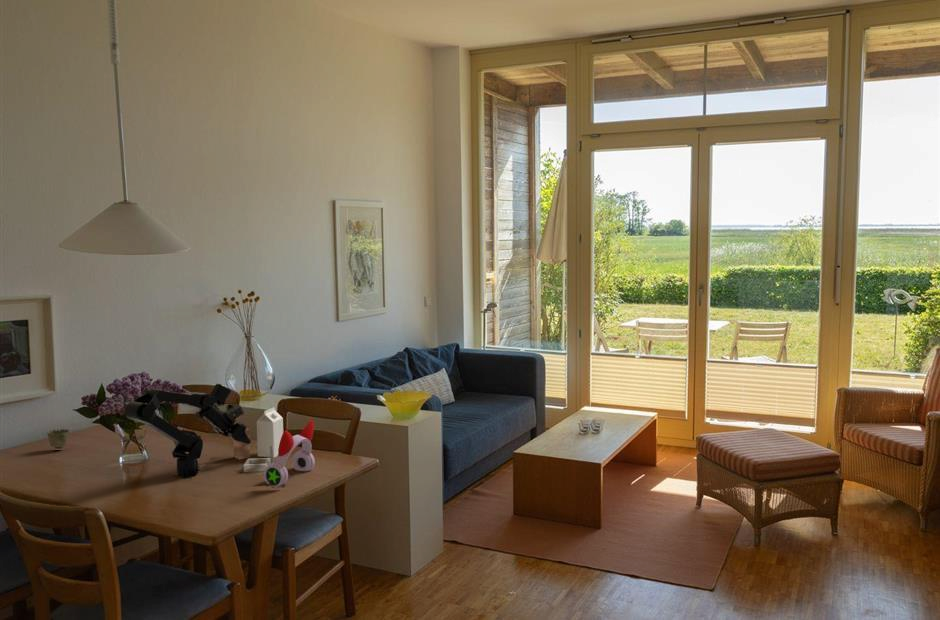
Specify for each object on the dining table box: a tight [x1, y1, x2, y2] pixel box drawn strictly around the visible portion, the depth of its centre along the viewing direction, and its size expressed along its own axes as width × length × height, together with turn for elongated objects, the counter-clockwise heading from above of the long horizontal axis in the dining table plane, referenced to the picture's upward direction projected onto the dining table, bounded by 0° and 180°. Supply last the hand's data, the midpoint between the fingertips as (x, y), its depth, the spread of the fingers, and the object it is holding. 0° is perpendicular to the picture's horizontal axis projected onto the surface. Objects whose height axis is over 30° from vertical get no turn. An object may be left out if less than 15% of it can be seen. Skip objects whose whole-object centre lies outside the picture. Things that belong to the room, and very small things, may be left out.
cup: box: [47, 428, 69, 450], centre depth 307 cm, size 8×7×8 cm
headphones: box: [263, 419, 316, 488], centre depth 266 cm, size 20×10×20 cm, turn 159°
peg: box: [233, 428, 251, 460], centre depth 290 cm, size 4×4×12 cm
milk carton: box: [256, 406, 284, 458], centre depth 293 cm, size 7×7×19 cm
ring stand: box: [232, 446, 275, 476], centre depth 275 cm, size 12×12×10 cm
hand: (244, 440), depth 291 cm, fingers open, 9 cm apart
